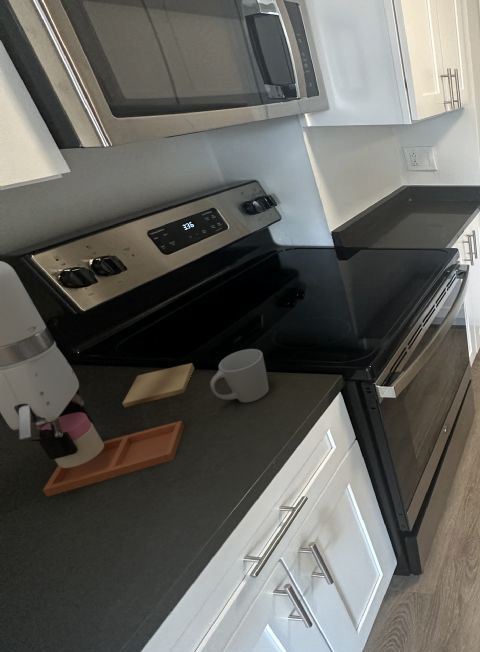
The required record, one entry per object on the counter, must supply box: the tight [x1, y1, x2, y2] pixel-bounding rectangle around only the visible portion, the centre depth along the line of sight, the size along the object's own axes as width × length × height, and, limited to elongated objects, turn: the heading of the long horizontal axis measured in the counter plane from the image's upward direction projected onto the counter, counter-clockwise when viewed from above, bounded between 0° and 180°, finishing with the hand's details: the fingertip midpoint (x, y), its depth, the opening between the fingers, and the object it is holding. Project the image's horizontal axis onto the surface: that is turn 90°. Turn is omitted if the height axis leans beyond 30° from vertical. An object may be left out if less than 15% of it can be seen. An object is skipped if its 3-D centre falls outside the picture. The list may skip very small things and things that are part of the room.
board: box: [122, 362, 195, 408], centre depth 90 cm, size 10×10×2 cm
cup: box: [210, 348, 270, 403], centre depth 85 cm, size 8×10×8 cm
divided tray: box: [42, 420, 185, 498], centre depth 72 cm, size 16×9×2 cm, turn 115°
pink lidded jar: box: [41, 412, 104, 468], centre depth 69 cm, size 6×6×6 cm
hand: (73, 440), depth 69 cm, fingers closed on pink lidded jar, 5 cm apart
